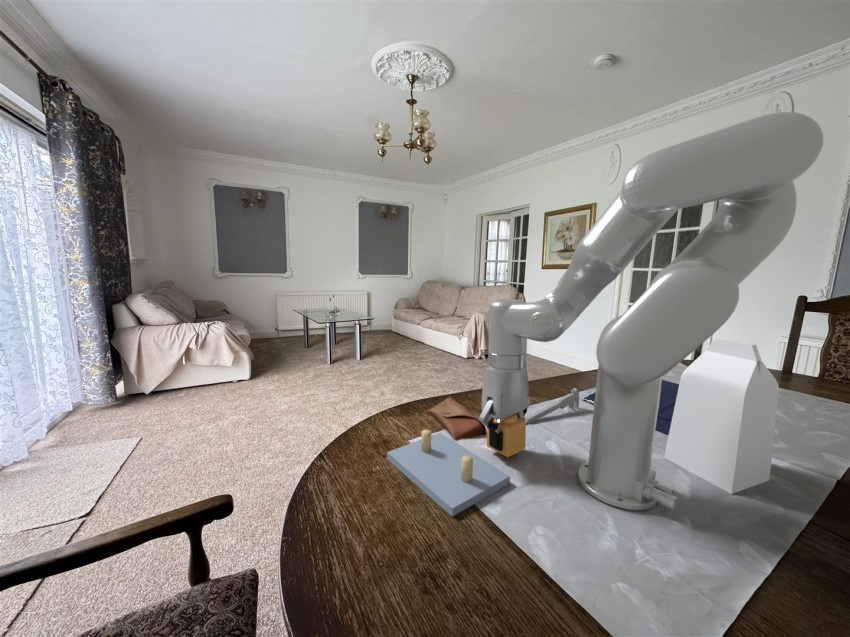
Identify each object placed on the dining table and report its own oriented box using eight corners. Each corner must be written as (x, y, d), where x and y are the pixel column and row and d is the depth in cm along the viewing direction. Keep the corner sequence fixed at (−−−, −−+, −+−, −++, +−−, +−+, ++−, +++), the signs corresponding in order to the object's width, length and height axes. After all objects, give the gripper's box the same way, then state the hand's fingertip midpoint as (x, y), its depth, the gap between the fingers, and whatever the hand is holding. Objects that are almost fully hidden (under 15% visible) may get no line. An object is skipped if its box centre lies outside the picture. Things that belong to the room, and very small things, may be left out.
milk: (663, 457, 72) (680, 336, 67) (699, 448, 76) (717, 333, 71) (731, 493, 61) (756, 351, 56) (769, 480, 65) (795, 346, 60)
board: (509, 483, 63) (511, 456, 62) (452, 516, 54) (452, 485, 53) (439, 438, 78) (440, 416, 77) (387, 459, 70) (387, 433, 69)
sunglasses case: (423, 410, 93) (435, 388, 94) (443, 418, 96) (454, 397, 97) (455, 441, 77) (469, 415, 77) (477, 451, 80) (491, 425, 80)
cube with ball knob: (525, 448, 72) (526, 414, 71) (507, 457, 68) (508, 422, 67) (504, 438, 76) (504, 406, 75) (486, 446, 73) (487, 413, 72)
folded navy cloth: (729, 407, 95) (730, 395, 94) (669, 445, 81) (670, 431, 80) (639, 380, 116) (640, 370, 115) (580, 407, 102) (580, 396, 102)
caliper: (575, 408, 97) (576, 386, 96) (578, 409, 96) (580, 387, 95) (520, 424, 87) (522, 400, 85) (524, 426, 86) (525, 401, 85)
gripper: (518, 350, 78) (517, 425, 80) (463, 363, 67) (464, 449, 70) (548, 356, 72) (545, 437, 74) (492, 372, 61) (491, 465, 64)
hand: (506, 442), depth 72 cm, fingers closed on cube with ball knob, 5 cm apart
